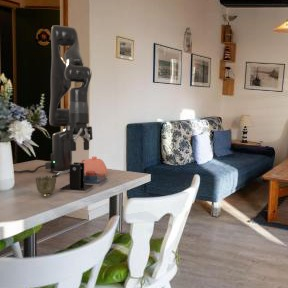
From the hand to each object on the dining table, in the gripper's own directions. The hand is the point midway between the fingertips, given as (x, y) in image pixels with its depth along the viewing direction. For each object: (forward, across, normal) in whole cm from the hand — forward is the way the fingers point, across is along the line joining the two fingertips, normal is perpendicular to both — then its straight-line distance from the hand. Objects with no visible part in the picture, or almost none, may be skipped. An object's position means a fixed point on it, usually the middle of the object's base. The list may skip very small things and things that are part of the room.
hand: (80, 150), depth 159 cm
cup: (+19, +9, -10) cm, 23 cm away
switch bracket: (+18, -6, -6) cm, 20 cm away
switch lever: (+11, -4, -9) cm, 14 cm away
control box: (+16, -18, -8) cm, 26 cm away
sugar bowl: (+15, -30, -15) cm, 37 cm away
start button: (+13, -18, -8) cm, 23 cm away
